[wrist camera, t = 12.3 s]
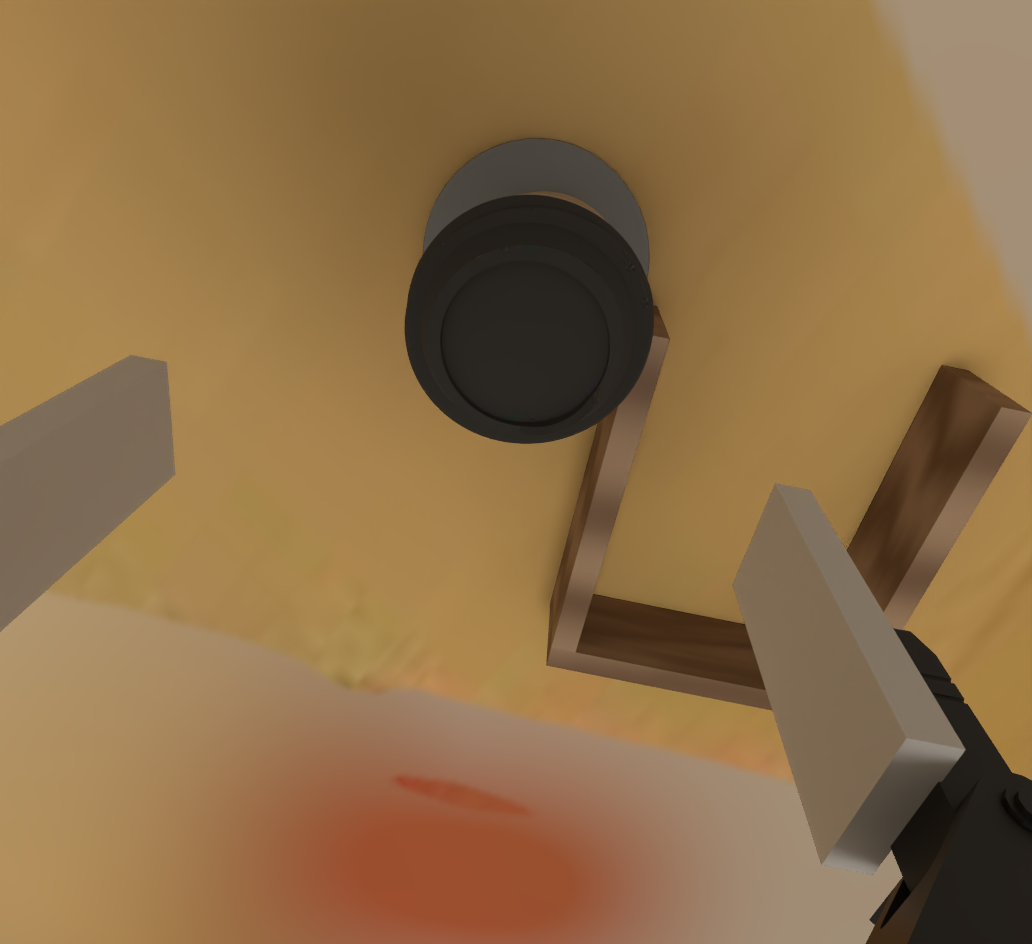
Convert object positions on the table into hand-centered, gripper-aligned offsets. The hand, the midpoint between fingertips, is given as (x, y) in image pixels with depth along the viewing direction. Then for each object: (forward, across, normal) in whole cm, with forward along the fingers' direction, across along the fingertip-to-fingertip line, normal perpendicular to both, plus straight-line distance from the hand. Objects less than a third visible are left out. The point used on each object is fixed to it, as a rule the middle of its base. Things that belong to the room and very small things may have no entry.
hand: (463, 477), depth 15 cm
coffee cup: (+24, +1, 0) cm, 24 cm away
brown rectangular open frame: (+25, +15, -12) cm, 31 cm away
